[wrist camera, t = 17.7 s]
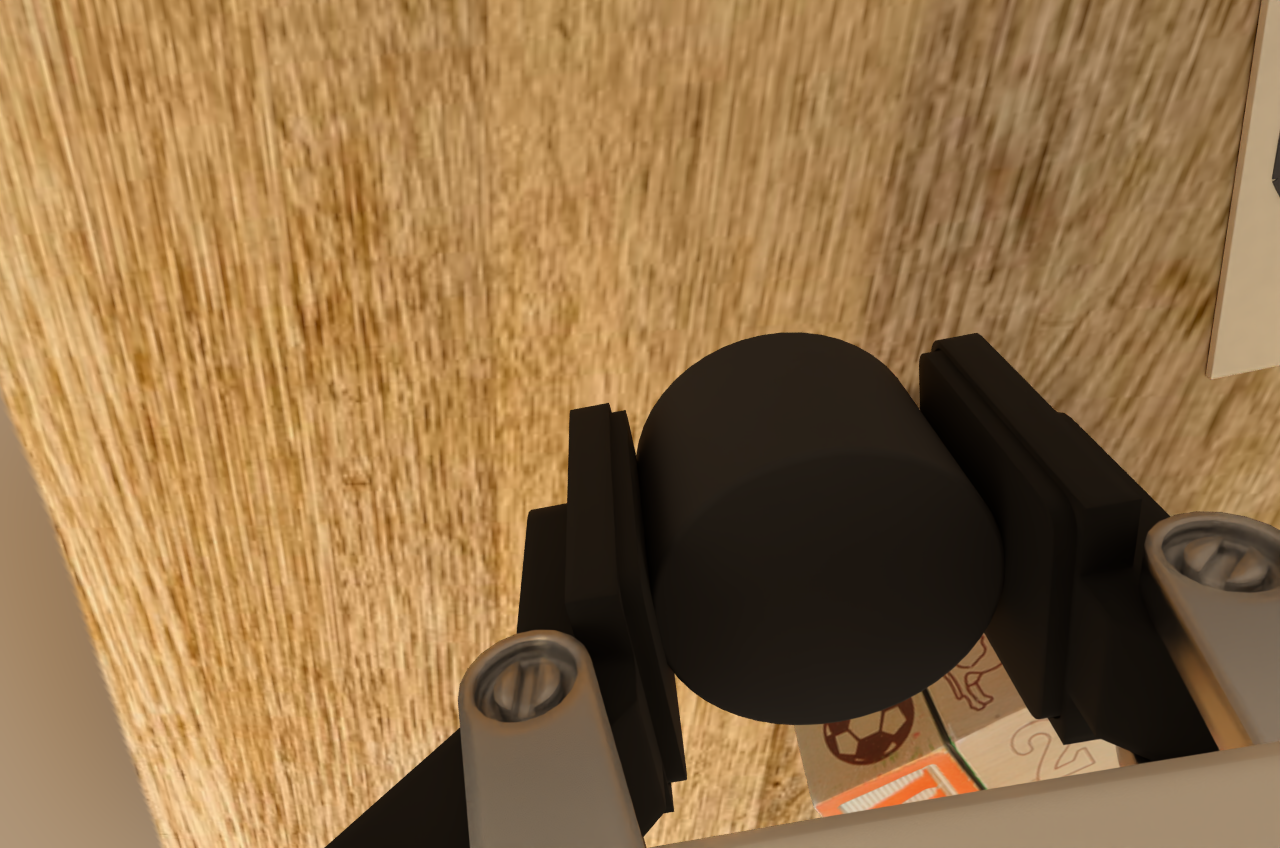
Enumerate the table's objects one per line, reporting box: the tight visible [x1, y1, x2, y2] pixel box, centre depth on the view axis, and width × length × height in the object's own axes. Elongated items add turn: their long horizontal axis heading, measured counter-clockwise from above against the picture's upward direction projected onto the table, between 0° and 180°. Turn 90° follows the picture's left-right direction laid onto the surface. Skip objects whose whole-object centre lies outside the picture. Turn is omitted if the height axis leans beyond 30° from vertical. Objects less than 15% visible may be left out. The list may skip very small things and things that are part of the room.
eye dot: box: [636, 333, 1005, 725], centre depth 11 cm, size 4×4×3 cm
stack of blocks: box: [794, 633, 1120, 817], centre depth 27 cm, size 21×6×12 cm, turn 35°
